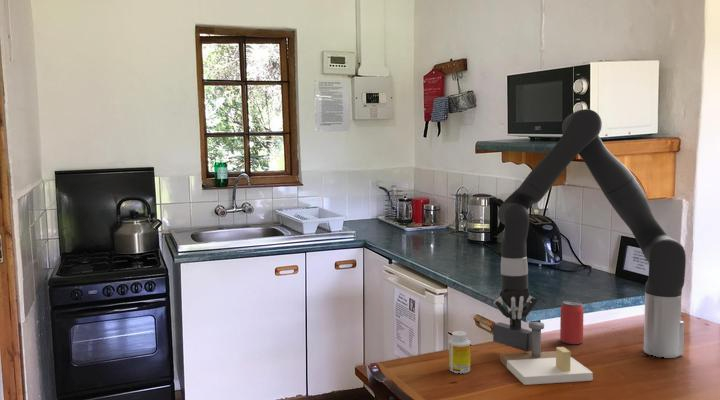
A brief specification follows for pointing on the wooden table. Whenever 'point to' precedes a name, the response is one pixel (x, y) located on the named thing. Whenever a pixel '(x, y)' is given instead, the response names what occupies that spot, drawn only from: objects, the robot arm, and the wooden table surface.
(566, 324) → the beer can
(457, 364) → the supplement bottle
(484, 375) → the wooden table surface
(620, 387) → the wooden table surface
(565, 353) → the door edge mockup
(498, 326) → the block
